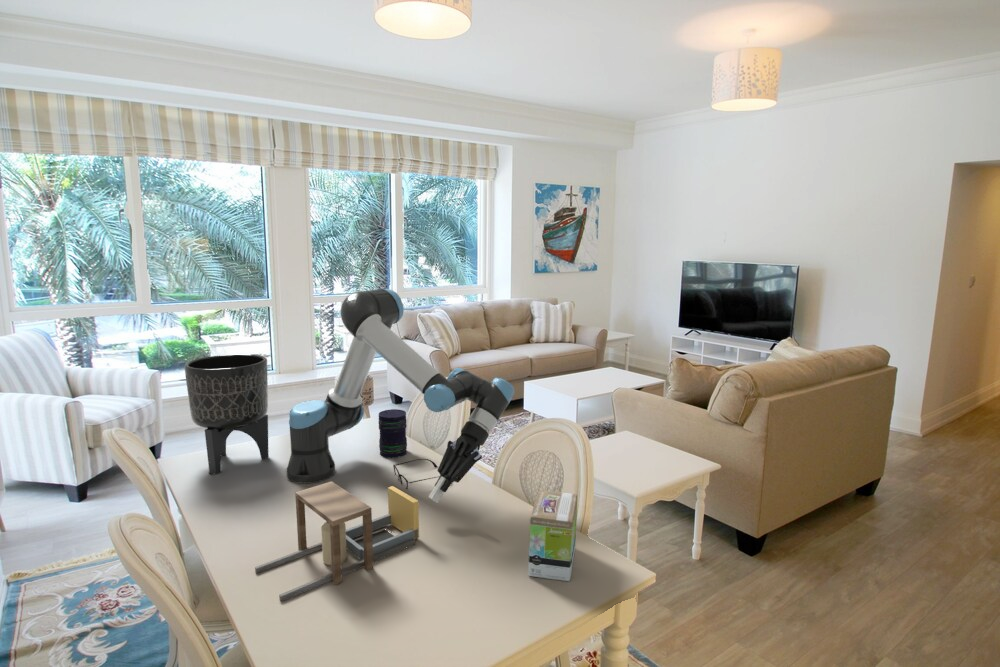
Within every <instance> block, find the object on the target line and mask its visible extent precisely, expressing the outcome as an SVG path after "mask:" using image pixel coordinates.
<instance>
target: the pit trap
mask: <svg viewBox="0 0 1000 667" xmlns="http://www.w3.org/2000/svg"><path fill="white" fill-rule="evenodd" d="M385 529H386V530H385ZM388 531H389V532H390V533H389V532H388ZM391 531H392V530H390V529H388V528H387V527H382V528H380V529H377V530H374V531H372V541H373V544H376V543H378V542H381V541H383V540H386V539H388V538H391V537H393V536H396V535H397V534H396V533H395V532H393V531H392V533H393V534H392V533H391ZM353 540H354V541H355V542H356V543H357V544H359V545H360V546H361V547H362V548H364V543H363V536H359V537H356V538H354V539H353Z"/></svg>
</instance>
